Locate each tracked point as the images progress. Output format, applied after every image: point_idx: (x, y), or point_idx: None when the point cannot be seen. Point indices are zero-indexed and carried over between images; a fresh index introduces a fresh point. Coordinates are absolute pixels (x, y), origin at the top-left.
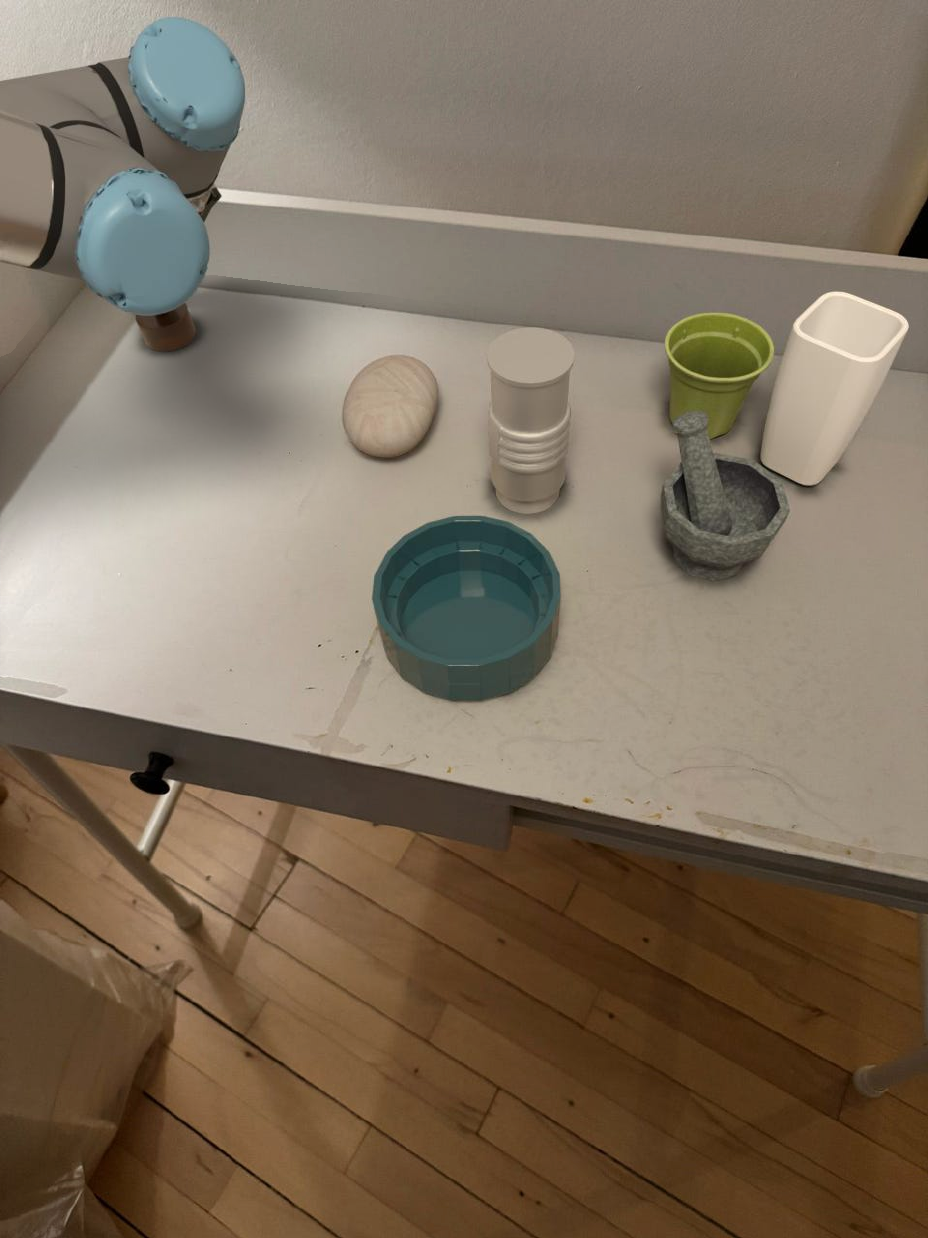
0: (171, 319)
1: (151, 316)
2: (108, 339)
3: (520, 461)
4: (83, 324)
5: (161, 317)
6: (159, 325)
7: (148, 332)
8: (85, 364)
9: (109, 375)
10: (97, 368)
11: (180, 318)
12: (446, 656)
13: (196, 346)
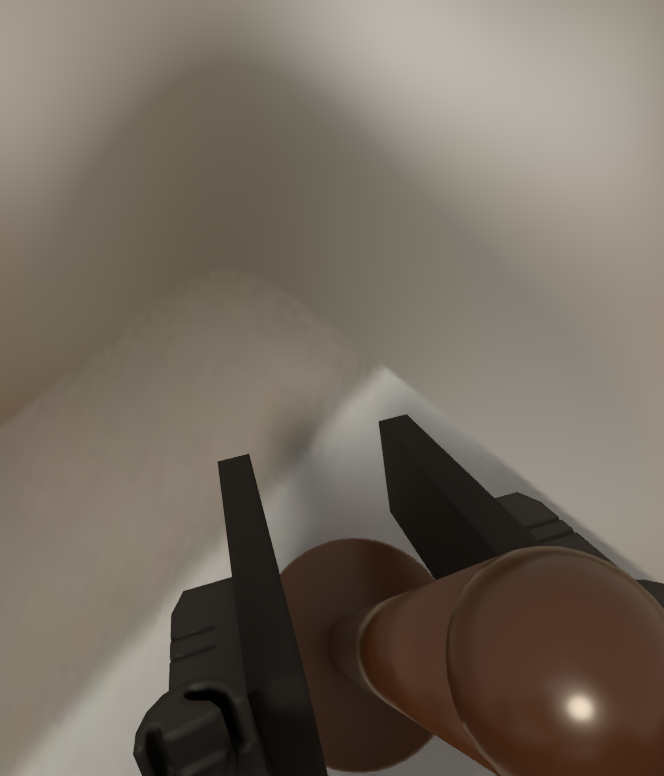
0: (384, 725)
1: (315, 650)
2: (157, 542)
3: None
4: (121, 422)
5: (349, 683)
6: (327, 742)
7: None
8: (34, 644)
9: (76, 771)
10: (59, 695)
11: (420, 742)
12: None
13: (415, 767)
